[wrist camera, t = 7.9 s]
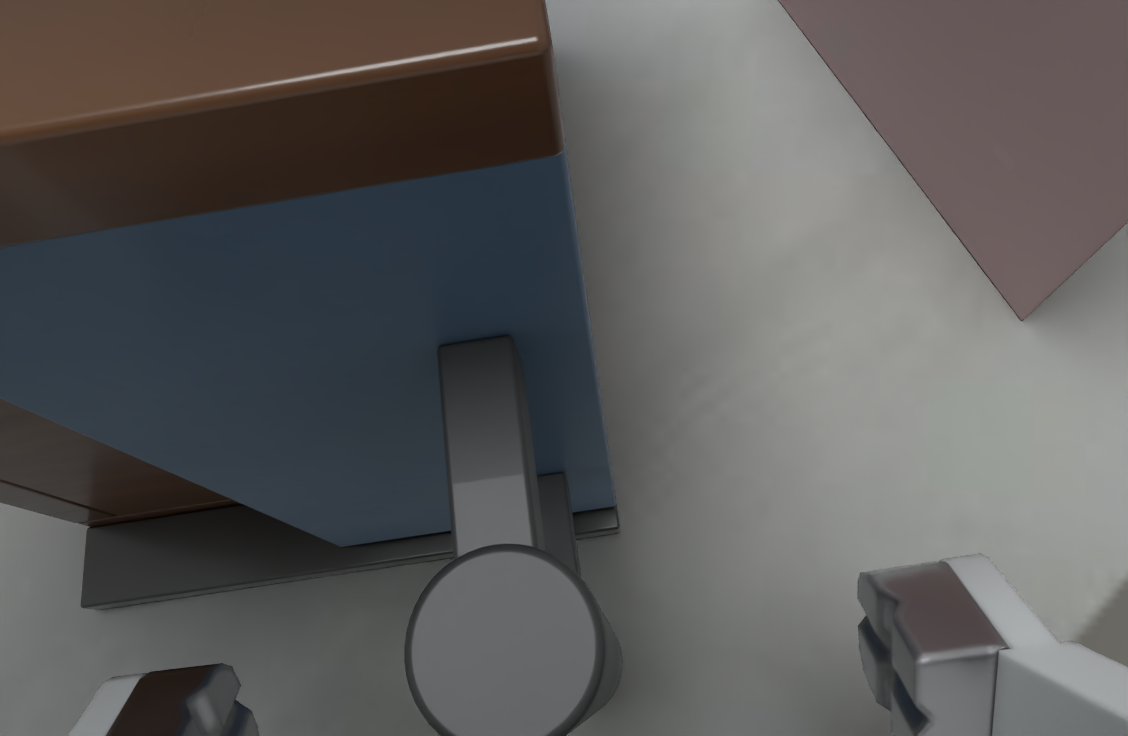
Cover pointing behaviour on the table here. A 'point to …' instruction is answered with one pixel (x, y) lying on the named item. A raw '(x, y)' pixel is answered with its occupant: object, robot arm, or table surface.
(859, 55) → the greeting card
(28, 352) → the cabinet door
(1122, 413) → the table surface
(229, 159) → the cabinet
